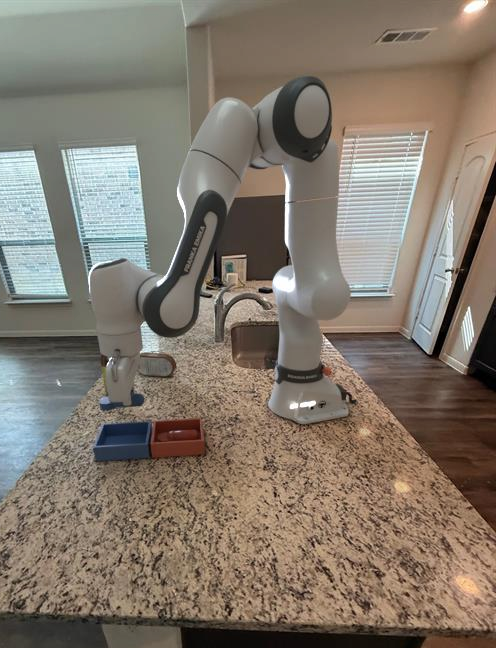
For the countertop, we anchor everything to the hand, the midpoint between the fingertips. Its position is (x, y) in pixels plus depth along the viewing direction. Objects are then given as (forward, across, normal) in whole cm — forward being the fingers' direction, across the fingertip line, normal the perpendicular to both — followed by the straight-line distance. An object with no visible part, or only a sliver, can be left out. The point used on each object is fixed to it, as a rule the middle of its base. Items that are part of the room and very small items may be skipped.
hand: (129, 399), depth 72 cm
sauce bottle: (+13, +27, +10) cm, 32 cm away
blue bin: (+13, -1, +2) cm, 13 cm away
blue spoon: (+2, 0, +2) cm, 3 cm away
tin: (+13, +39, -2) cm, 42 cm away
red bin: (+13, -1, -11) cm, 17 cm away
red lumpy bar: (+12, 0, -10) cm, 16 cm away
